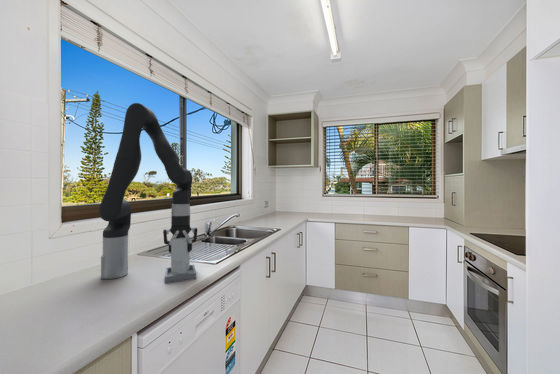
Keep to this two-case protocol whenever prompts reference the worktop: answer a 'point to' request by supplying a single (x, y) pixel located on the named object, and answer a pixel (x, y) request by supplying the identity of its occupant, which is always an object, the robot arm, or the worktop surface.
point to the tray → (180, 275)
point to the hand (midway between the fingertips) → (180, 252)
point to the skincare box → (179, 256)
